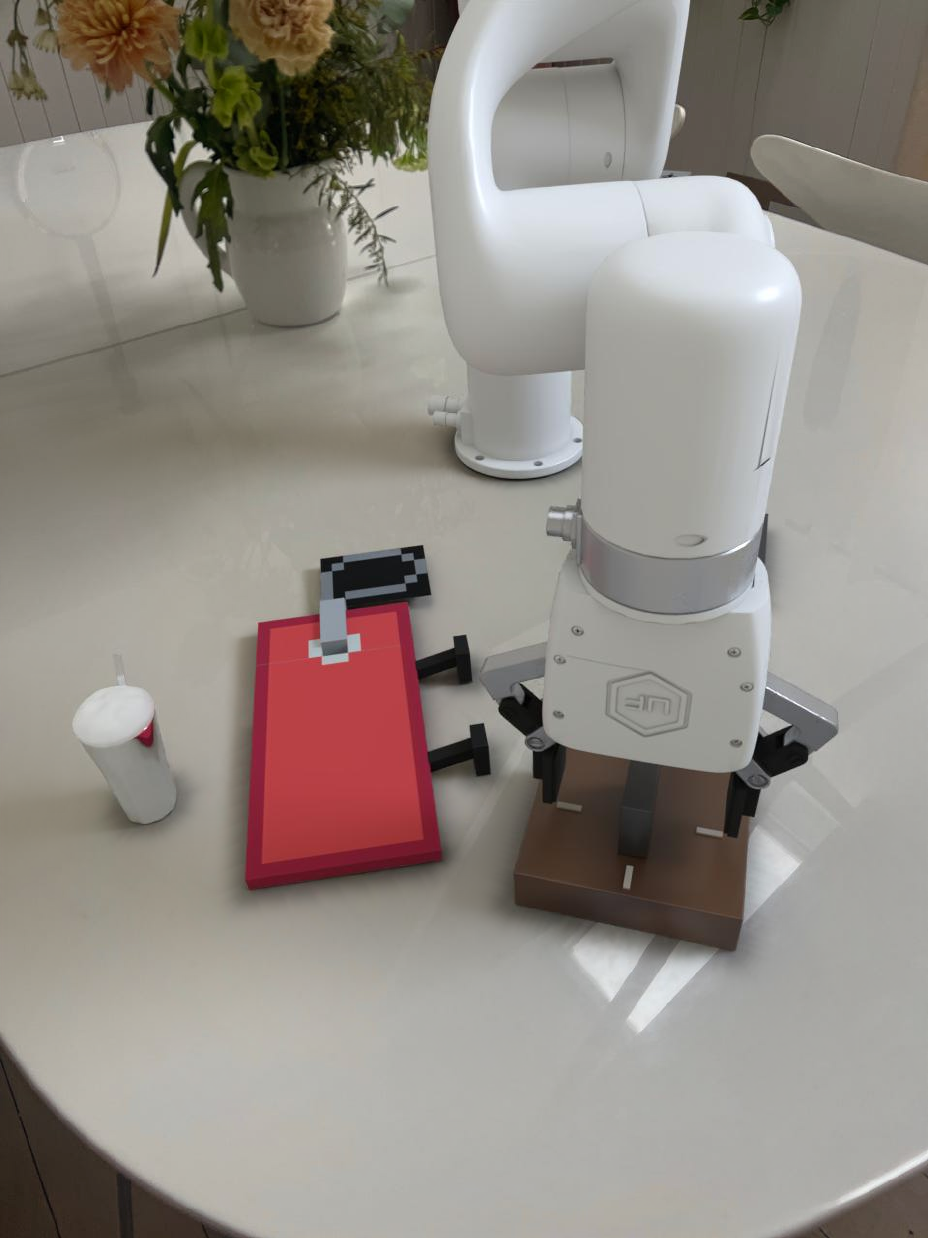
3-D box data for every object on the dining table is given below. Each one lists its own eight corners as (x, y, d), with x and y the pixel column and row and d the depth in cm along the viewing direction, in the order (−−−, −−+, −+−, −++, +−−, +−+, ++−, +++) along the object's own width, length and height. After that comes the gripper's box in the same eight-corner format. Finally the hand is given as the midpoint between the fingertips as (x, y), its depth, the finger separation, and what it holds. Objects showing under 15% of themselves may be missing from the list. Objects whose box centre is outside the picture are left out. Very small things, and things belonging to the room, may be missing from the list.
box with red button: (646, 859, 51) (652, 809, 48) (617, 853, 51) (621, 803, 48) (658, 788, 54) (664, 738, 52) (630, 783, 55) (634, 733, 52)
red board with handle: (446, 550, 78) (264, 575, 77) (443, 522, 76) (257, 548, 75) (506, 854, 55) (250, 894, 54) (504, 825, 53) (239, 866, 53)
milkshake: (196, 764, 62) (155, 651, 55) (180, 831, 58) (134, 717, 51) (127, 768, 62) (78, 656, 55) (106, 835, 58) (51, 722, 51)
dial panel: (514, 904, 53) (513, 871, 51) (550, 770, 60) (550, 736, 58) (735, 952, 50) (744, 918, 48) (745, 804, 57) (753, 770, 55)
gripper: (449, 570, 40) (470, 824, 51) (887, 626, 36) (807, 890, 47) (493, 478, 45) (503, 725, 56) (878, 517, 41) (807, 776, 52)
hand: (641, 799), depth 51 cm, fingers open, 9 cm apart
